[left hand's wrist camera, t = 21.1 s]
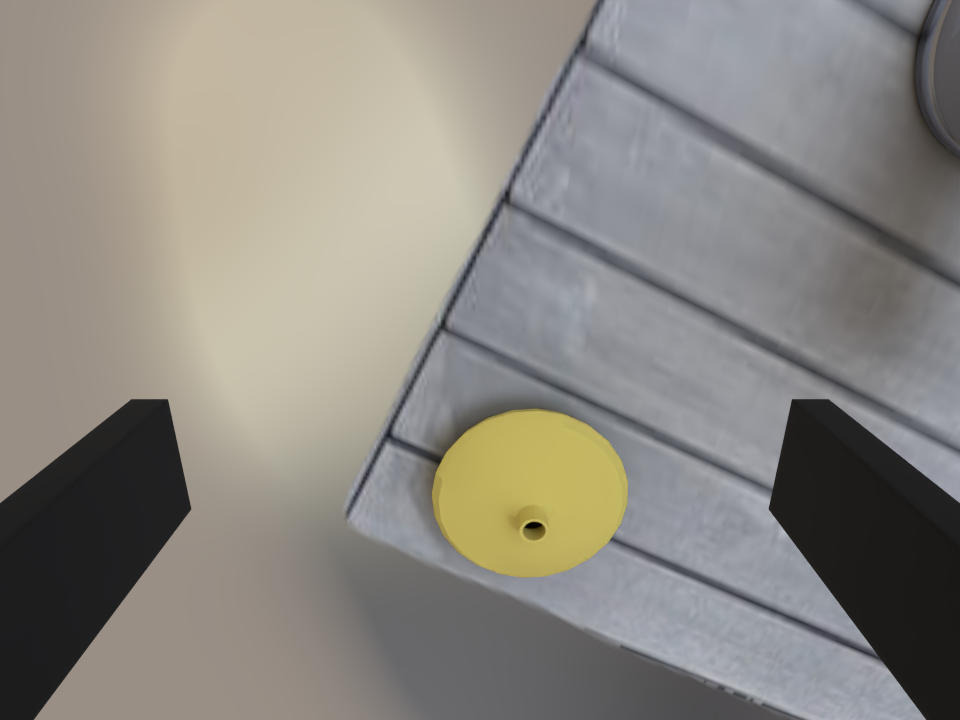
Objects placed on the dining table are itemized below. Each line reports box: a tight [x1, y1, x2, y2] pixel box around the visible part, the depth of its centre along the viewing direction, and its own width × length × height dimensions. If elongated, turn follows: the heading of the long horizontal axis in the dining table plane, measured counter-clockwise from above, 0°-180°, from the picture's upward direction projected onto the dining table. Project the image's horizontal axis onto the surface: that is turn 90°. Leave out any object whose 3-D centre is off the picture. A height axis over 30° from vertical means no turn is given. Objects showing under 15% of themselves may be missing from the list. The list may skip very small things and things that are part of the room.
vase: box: [432, 408, 628, 578], centre depth 47 cm, size 16×16×7 cm
